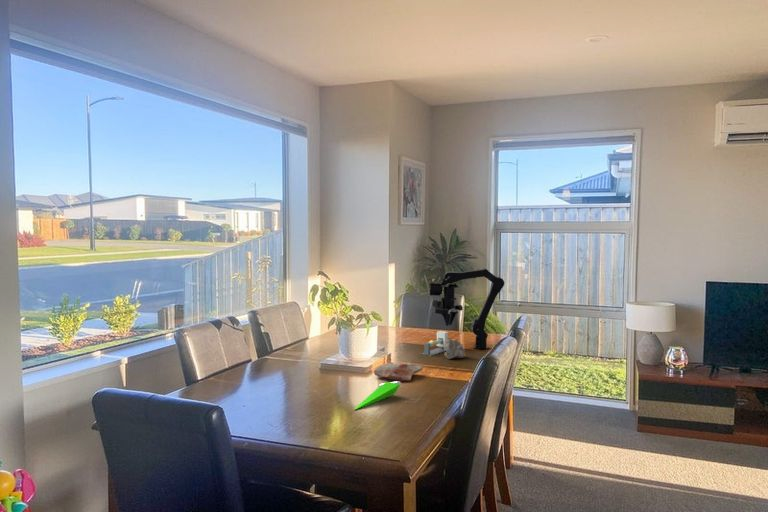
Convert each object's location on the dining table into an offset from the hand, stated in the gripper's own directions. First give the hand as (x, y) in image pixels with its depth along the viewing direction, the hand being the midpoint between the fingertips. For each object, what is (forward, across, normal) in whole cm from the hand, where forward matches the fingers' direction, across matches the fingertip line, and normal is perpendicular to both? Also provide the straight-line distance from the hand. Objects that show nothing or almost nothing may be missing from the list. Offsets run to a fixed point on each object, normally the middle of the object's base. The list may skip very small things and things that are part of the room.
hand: (448, 325), depth 296 cm
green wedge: (+12, +93, +26) cm, 97 cm away
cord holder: (+12, +12, 0) cm, 17 cm away
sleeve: (+10, +6, 0) cm, 12 cm away
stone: (+12, +62, +13) cm, 65 cm away
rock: (+12, +17, +14) cm, 25 cm away
